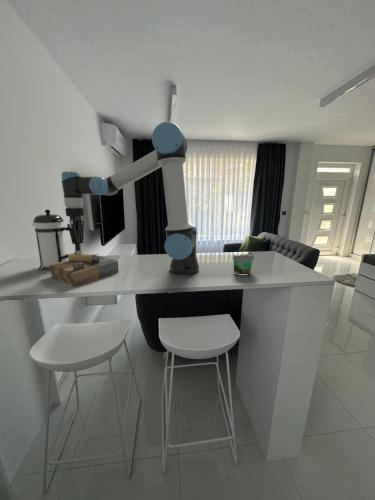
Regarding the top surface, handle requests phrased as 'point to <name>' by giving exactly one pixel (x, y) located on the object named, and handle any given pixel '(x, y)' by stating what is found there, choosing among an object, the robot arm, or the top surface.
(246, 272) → the food container
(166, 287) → the top surface
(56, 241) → the coffee press
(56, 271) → the slotted wooden block
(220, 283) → the top surface
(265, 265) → the top surface
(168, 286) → the top surface
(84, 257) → the lock bar
